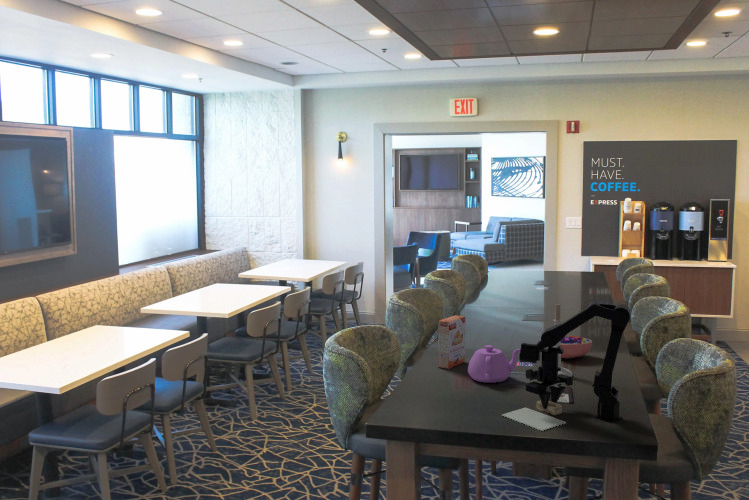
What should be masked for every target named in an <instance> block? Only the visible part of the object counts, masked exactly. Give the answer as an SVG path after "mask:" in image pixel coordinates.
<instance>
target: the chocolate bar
mask: <svg viewBox="0 0 749 500" xmlns="http://www.w3.org/2000/svg"><path fill="white" fill-rule="evenodd" d="M565 387H566V389H564V391H563V393H562V394H561V396H560V398H559V399H558V401H557V404H574V400H573V392H572V390H573V389H572V387H571V386H565ZM548 391H549V392H551V390H550V388H549V387H548ZM549 401H551V394H550V398H549Z"/></svg>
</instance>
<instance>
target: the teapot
mask: <svg viewBox="0 0 749 500" xmlns="http://www.w3.org/2000/svg"><path fill="white" fill-rule="evenodd" d="M520 350H521V347H520V348H516V349H514V350H513V352H512V355H511V356H512V357H511V360H510V361H508V359H507V357H506V356H505V354H504V352H503V351H502V350H501V349H499V348H495V347H494V346H493V345H490V344H488V345H484V348H483V347H481V348H479V349H477V350H476V351H475V352H474V354H473V355H472V357H471V358H470V360H469V363H468V365H467V367H468V368H467V373H468V375H469V376H470V378H471V379H472V380H474V381H476V382H479V383H486V384H487V383H490V384H491V383H492V384H493V383H496V382H498V383H501V382H505V381H506V380H507V379H508V378H509V377H510V375H511V372H513V371H514V370H515V368H516V366H517V362H518V361H517V357H518V354H519V353H520ZM496 384H497V383H496Z"/></svg>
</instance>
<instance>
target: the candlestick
mask: <svg viewBox="0 0 749 500" xmlns="http://www.w3.org/2000/svg"><path fill="white" fill-rule="evenodd" d="M554 307H555V309H554V310H555V311H554V319H552V321H554V322H553V323H554V326H555V325H558V324H561V322H563V320H562V319H561V304H560V303H556V304H554ZM559 345H560V341H559V342H558V343H557V344H556V345H555V346H554V347H556V348H557V347H558V346H559ZM558 367H559V368H561V371H558V375H559V374H563V375H567V376H570V377H571V378H572V377H573V372H572V371H571V370H570V369H569V368H565V367H562V358H561V354H558Z"/></svg>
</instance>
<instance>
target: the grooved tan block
mask: <svg viewBox="0 0 749 500" xmlns="http://www.w3.org/2000/svg"><path fill="white" fill-rule="evenodd" d="M536 410H537V411H541V412H543V411H545V412H544V413H546V412H547V413H546V414H549V413H550V415H552V416H556V415H560V414H562V413H563V405H562V404H561V403H554V402H551V401H549V402H548V406H547V409H544V408H543V405H542V402H541V400H537V401H536Z"/></svg>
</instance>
